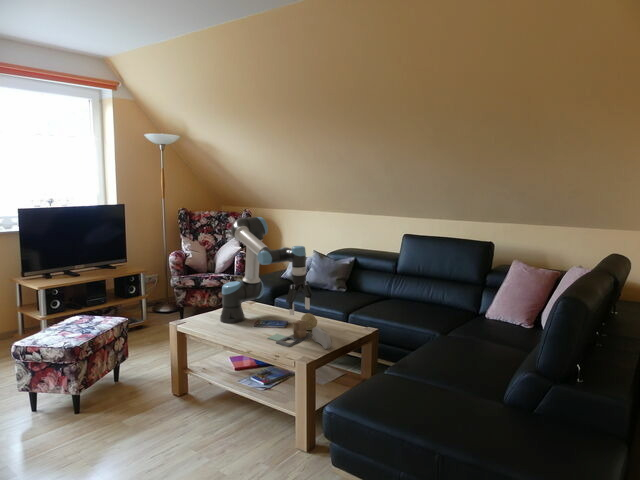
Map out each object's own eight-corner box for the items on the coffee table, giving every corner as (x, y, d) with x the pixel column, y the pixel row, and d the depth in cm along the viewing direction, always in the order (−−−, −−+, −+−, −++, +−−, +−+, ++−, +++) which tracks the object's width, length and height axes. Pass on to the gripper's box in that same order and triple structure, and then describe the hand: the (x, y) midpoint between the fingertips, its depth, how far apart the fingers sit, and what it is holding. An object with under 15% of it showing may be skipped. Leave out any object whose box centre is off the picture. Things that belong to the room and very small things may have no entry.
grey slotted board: (275, 343, 261) (275, 341, 261) (301, 332, 278) (301, 330, 278) (288, 346, 256) (288, 345, 255) (313, 335, 273) (313, 333, 273)
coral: (316, 314, 290) (318, 312, 281) (315, 331, 288) (317, 329, 278) (300, 313, 290) (301, 311, 280) (300, 330, 287) (301, 329, 277)
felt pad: (267, 338, 269) (267, 337, 269) (277, 334, 275) (277, 333, 275) (278, 341, 264) (278, 340, 264) (287, 337, 270) (287, 336, 270)
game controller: (331, 350, 251) (331, 335, 249) (327, 351, 250) (327, 335, 248) (315, 339, 268) (315, 324, 267) (311, 339, 267) (311, 325, 266)
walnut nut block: (293, 337, 270) (293, 322, 268) (299, 335, 274) (299, 320, 272) (300, 339, 267) (300, 323, 265) (306, 337, 271) (306, 321, 269)
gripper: (289, 279, 253) (290, 318, 256) (318, 271, 273) (318, 307, 276) (278, 277, 257) (279, 316, 260) (307, 269, 277) (308, 305, 280)
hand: (299, 311), depth 268 cm, fingers open, 13 cm apart
